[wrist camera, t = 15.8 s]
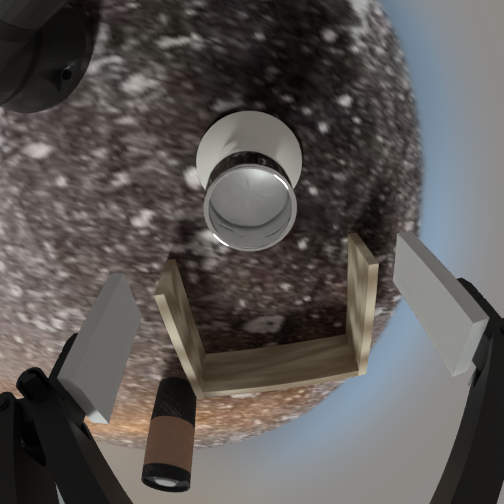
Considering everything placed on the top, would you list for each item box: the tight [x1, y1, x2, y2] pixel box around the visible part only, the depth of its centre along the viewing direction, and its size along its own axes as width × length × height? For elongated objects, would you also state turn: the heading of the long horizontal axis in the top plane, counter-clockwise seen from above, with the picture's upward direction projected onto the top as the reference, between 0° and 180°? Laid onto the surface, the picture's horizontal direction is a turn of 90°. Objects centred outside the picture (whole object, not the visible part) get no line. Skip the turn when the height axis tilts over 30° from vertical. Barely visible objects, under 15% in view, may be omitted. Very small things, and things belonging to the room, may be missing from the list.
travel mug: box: [141, 378, 196, 492], centre depth 46 cm, size 8×8×20 cm
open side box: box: [154, 233, 379, 397], centre depth 42 cm, size 19×25×8 cm
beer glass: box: [203, 137, 297, 251], centre depth 29 cm, size 7×7×15 cm
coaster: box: [196, 111, 302, 189], centre depth 36 cm, size 12×12×1 cm
